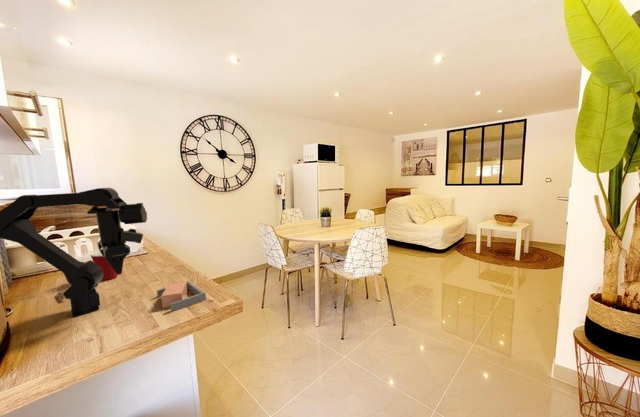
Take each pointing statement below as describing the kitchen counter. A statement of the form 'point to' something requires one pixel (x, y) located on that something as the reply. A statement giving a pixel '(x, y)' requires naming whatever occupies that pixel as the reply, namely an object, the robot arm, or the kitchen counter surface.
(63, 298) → the shard
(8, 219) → the robot arm
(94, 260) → the plastic cup
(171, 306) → the grey u-shaped bracket
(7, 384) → the kitchen counter surface
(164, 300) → the salmon pink block
